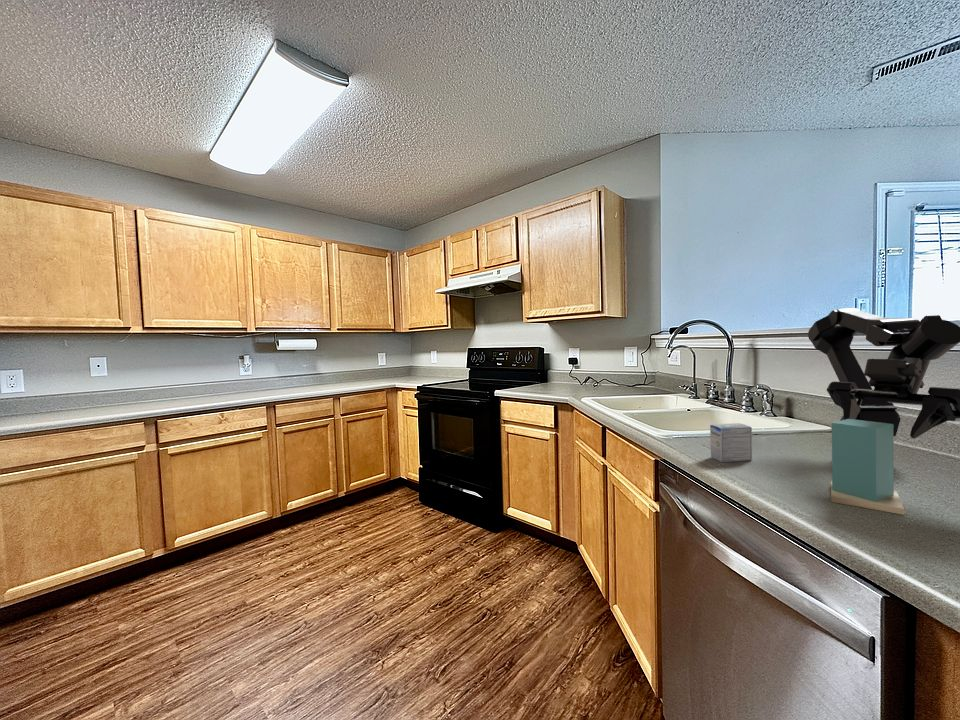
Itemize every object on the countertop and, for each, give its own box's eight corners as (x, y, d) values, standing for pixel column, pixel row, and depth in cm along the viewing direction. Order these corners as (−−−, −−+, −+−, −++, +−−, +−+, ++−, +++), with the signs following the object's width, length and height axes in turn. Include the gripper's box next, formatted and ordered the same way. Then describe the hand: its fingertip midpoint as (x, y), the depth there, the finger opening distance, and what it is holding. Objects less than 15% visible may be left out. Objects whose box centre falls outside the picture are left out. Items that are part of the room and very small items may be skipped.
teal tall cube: (849, 484, 75) (849, 418, 74) (893, 495, 69) (893, 424, 69) (832, 490, 72) (831, 422, 72) (876, 502, 67) (875, 428, 66)
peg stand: (830, 485, 77) (830, 463, 77) (896, 495, 71) (896, 471, 71) (831, 501, 70) (831, 477, 70) (904, 514, 64) (904, 488, 64)
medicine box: (740, 455, 99) (739, 422, 98) (752, 461, 94) (752, 426, 94) (710, 457, 98) (709, 424, 98) (721, 462, 94) (720, 428, 94)
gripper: (830, 344, 83) (802, 400, 79) (965, 342, 66) (938, 413, 62) (849, 377, 86) (823, 432, 82) (982, 383, 69) (957, 453, 65)
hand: (877, 432), depth 73 cm, fingers open, 9 cm apart
